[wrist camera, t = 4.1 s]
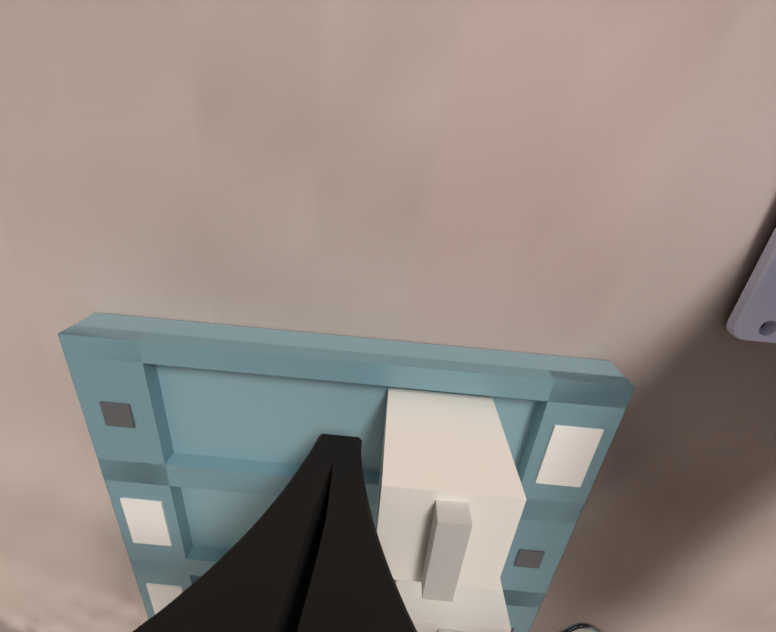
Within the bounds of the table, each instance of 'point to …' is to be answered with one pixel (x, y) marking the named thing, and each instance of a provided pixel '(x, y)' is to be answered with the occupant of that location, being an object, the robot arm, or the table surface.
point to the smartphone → (581, 628)
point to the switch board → (313, 432)
